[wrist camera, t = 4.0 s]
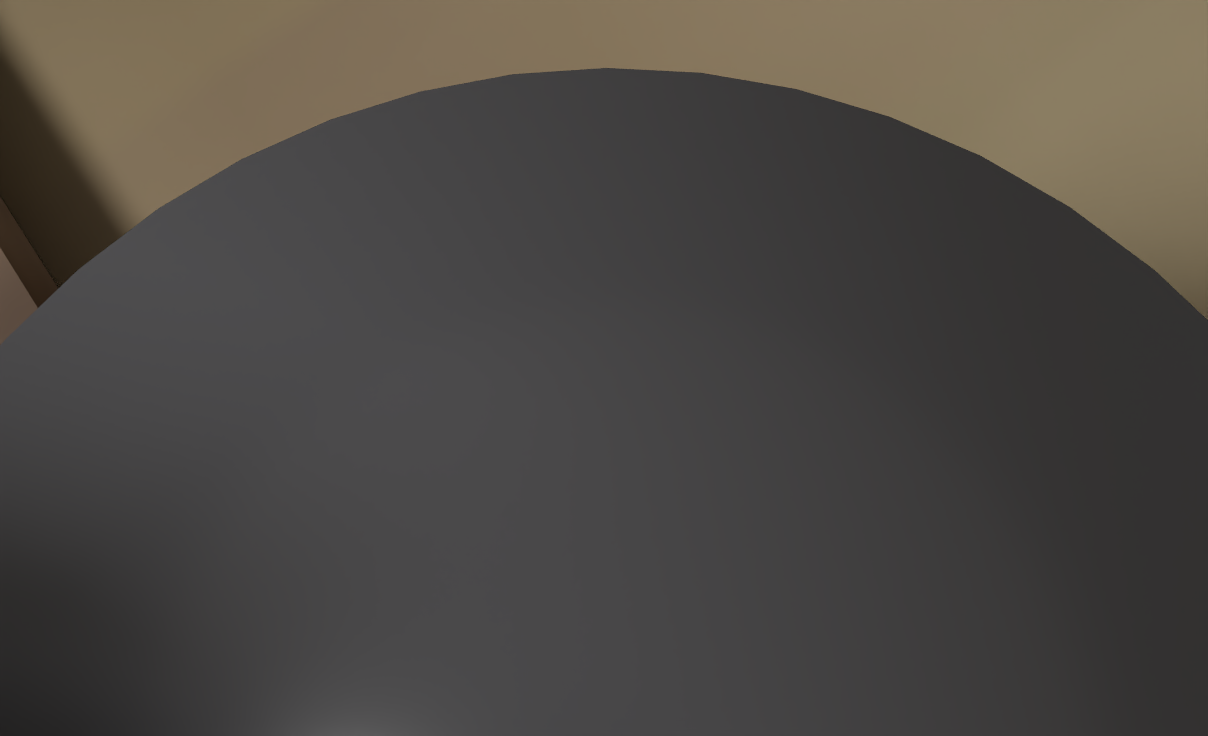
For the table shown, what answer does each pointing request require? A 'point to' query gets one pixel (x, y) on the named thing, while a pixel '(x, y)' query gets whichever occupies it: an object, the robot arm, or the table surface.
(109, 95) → the table surface
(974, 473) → the grey tall rounded piece
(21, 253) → the mount board
